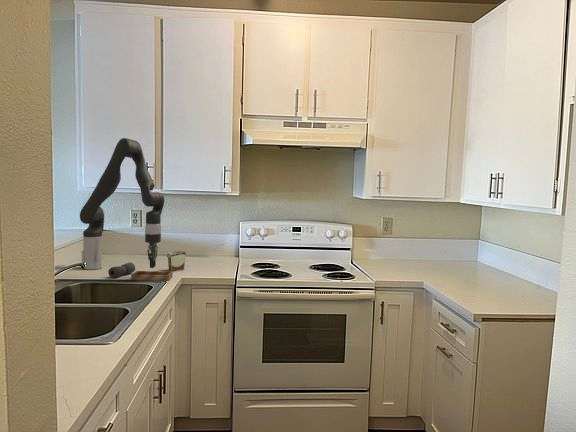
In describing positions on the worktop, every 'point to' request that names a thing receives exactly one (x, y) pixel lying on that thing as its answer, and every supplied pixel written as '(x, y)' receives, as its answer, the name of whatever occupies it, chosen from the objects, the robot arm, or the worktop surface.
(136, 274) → the open wooden frame
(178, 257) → the food container
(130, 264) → the flashlight
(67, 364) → the worktop surface
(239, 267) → the worktop surface
